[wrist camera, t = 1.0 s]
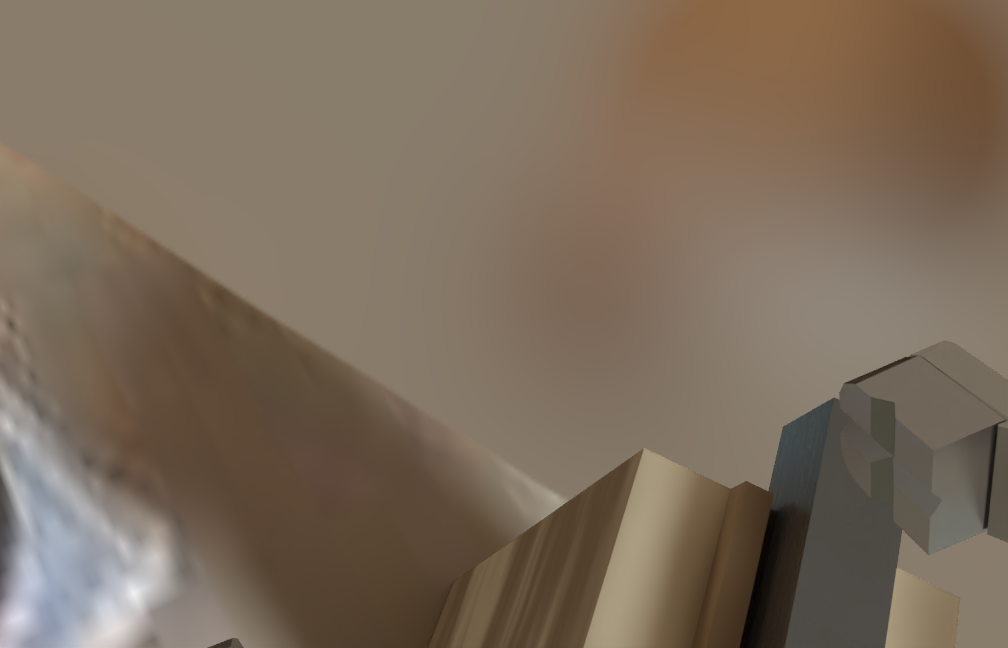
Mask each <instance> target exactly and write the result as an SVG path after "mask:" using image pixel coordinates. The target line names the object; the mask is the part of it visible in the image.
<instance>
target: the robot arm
mask: <svg viewBox="0 0 1008 648" xmlns="http://www.w3.org/2000/svg"><path fill="white" fill-rule="evenodd" d="M839 396H840V409H841V410H843V411H844V412H845V413H846V414H847V415H848V416H849V419H848V421H847V422H846V424H845V426H844V428H843V429H842V431H841V433H840V438H841V452H842V455H843V458H844V460H845V463H846V465H847V468H848V470H849V472H850V474H851V475H852V477H853V478H854V480H855V481H856V483H857V484H858V485H859V486H860V487H861V489H862V490H863V491H864V492H865V493H866V494H867V495H868V496H869V497H870V498H872V499H875V500H878V501H881V502H885V503H888V504H891V505H893V521H894V522H895V523H896V524H897V525H898V526H899V527H900V528H901V529H902V530H903V531H904V532H905V533H906V534H907V535H908V536H909V537H910V538H911V539H913V541H915V543H916V544H918V545H919V546H920V547H921V548H922V549H923V550H924V551H925V552H926V553H927V554H928V555H930V554H932V553H935V552H937V551H940V550H942V549H944V548H947V547H949V546H951V545H954V544H956V543H958V542H961V541H963V540H966V539H968V538H970V537H973V536H975V535H978V534H980V533H983V532H985V531H987V534H988V535H990V536H993V537H995V538H998V539H1000V540H1003V541H1005V542H1008V380H1007V379H1005V378H1004V377H1003V376H1001V375H1000V374H998V373H997V372H996V371H994V370H993V369H991V368H990V367H988V366H987V365H986V364H984V363H983V362H981V361H980V360H978V359H977V358H976V357H974V356H972V355H971V354H970V353H968V352H967V351H965V350H964V349H962V348H961V347H960V346H958V345H957V344H955V343H953V342H948V341H942V342H940V343H937V344H935V345H933V346H930V347H928V348H926V349H924V350H921V351H919V352H916V353H914V354H911V355H910V356H909V357H904V358H902V359H900V360H897V361H895V362H893V363H890V364H888V365H886V366H883V367H881V368H879V369H877V370H874V371H872V372H869V373H867V374H865V375H862V376H860V377H858V378H855V379H853V380H851V381H848V382H846V383H844V384H843V386H842V388H841V391H840V395H839ZM208 648H244V647H243V646H242V644H241V643H240V641H239V640H238V639H236V638H231V639H229V640H226V641H224V642H221V643H219V644H216V645H213V646H211V647H208Z"/></svg>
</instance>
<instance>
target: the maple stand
mask: <svg viewBox="0 0 1008 648" xmlns="http://www.w3.org/2000/svg"><path fill="white" fill-rule="evenodd" d="M773 495H774V494H772V493H770V492H768V491H766V490H764V489H762V488H760V487H758V486H755V485H753V484H751V483H749V482H747V481H745V482H744V483H742V484H740V485H738V486H736V487H734V488H732V489H729V488H727V487H725V486H723V485H721V484H719V483H717V482H714V481H712V480H710V479H708V478H706V477H704V476H702V475H700V474H698V473H696V472H694V471H691V470H689V469H687V468H685V467H683V466H681V465H679V464H676V463H674V462H672V461H670V460H668V459H666V458H664V457H662V456H660V455H658V454H655V453H653V452H651V451H649V450H647V449H645V448H644V449H642V450H641V451H639V452H638V453H637V454H635V455H634V456H632V457H631V458H630V459H628V460H627V461H625V462H624V463H622V464H621V465H620V466H618V467H617V468H615V469H614V470H612V471H611V472H610V473H608V474H607V475H605V476H604V477H602V478H601V479H600V480H598V481H597V482H595V483H594V484H593V485H591V486H590V487H588V488H587V489H585V490H584V491H582V492H581V493H580V494H579V495H577V496H576V497H574V498H573V499H571V500H570V501H568V502H567V503H565V504H564V505H563V506H561V507H560V508H558V509H557V510H555V511H554V512H553V513H551V514H550V515H548V516H547V517H545V518H544V519H543V520H541V521H540V522H538V523H537V524H536V525H534V526H533V527H531V528H530V529H528V530H527V531H526V532H524V533H523V534H521V535H520V536H518V537H517V538H516V539H514V540H513V541H511V542H510V543H508V544H507V545H506V546H504V547H503V548H501V549H500V550H499V551H497V552H496V553H494V554H493V555H491V556H490V557H489V558H487V559H486V560H484V561H483V562H481V563H480V564H479V565H477V566H476V567H474V568H473V569H472V570H470V571H469V572H467V573H466V574H464V575H463V576H462V577H460V578H459V579H457V580H456V581H454V582H453V584H452V586H451V589H450V592H449V594H448V597H447V599H446V602H445V605H444V607H443V610H442V612H441V615H440V617H439V620H438V623H437V625H436V628H435V630H434V633H433V636H432V638H431V641H430V643H429V646H428V648H740V643H741V639H742V634H743V630H744V625H745V621H746V616H747V612H748V607H749V603H750V598H751V594H752V589H753V585H754V580H755V576H756V571H757V567H758V562H759V558H760V553H761V549H762V544H763V540H764V535H765V531H766V526H767V522H768V517H769V513H770V508H771V504H772V499H773ZM959 604H960V597H958V596H956V595H954V594H952V593H949V592H947V591H945V590H943V589H941V588H939V587H937V586H935V585H933V584H930V583H928V582H926V581H924V580H922V579H920V578H918V577H915V576H914V575H911V574H909V573H907V572H905V571H903V570H901V569H899V568H897V569H896V576H895V582H894V589H893V596H892V603H891V610H890V617H889V624H888V630H887V637H886V644H885V648H955V641H956V631H957V622H958V614H959Z"/></svg>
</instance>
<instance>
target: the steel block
mask: <svg viewBox="0 0 1008 648" xmlns="http://www.w3.org/2000/svg"><path fill="white" fill-rule="evenodd" d="M848 419H849V416H848V415H847V414H846V413H845V412H844V411H843V410H841V409H840V400H839V399H836V398H833V399H831V400H829V401H827V402H826V403H824V404H822V405H820V406H819V407H817V408H815V409H813V410H812V411H810V412H808V413H806V414H805V415H803V416H801V417H799V418H798V419H796V420H794V421H792V422H791V423H789V424H787V425H786V426H784V427H783V429H782V434H781V439H780V443H779V447H778V452H777V456H776V461H775V465H774V469H773V474H772V478H771V483H770V487H769V492H770V493H772V494H774V495H773V499H772V504H771V508H770V513H769V517H768V522H767V526H766V531H765V535H764V540H763V544H762V549H761V553H760V558H759V562H758V567H757V571H756V576H755V580H754V585H753V589H752V594H751V598H750V603H749V607H748V612H747V616H746V621H745V625H744V630H743V634H742V639H741V643H740V648H885V644H886V637H887V630H888V624H889V617H890V610H891V603H892V596H893V589H894V582H895V576H896V569H897V562H898V554H899V548H900V541H901V534H902V529H901V528H900V527H899V526H898V525H897V524H896V523H895V522H894V521H893V505H891V504H888V503H885V502H881V501H878V500H875V499H872V498H870V497H869V496H868V495H867V494H866V493H865V492H864V491H863V490H862V489H861V487H860V486H859V485H858V484H857V483H856V481H855V480H854V478H853V477H852V475H851V474H850V472H849V470H848V468H847V465H846V463H845V460H844V458H843V455H842V452H841V438H840V433H841V431H842V429H843V428H844V426H845V424H846V422H847V421H848Z"/></svg>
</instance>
